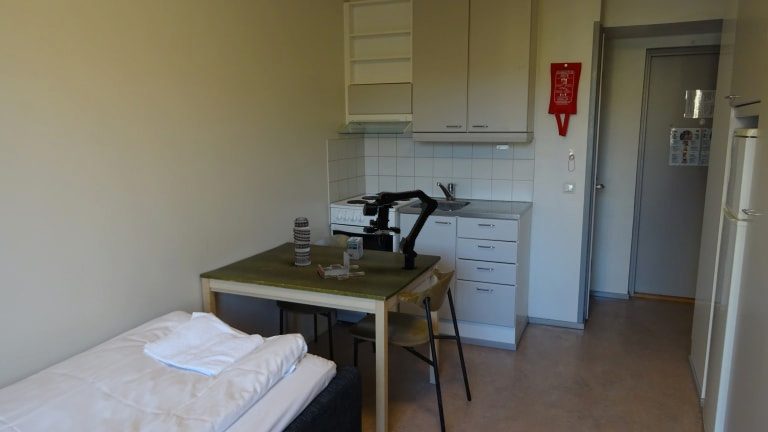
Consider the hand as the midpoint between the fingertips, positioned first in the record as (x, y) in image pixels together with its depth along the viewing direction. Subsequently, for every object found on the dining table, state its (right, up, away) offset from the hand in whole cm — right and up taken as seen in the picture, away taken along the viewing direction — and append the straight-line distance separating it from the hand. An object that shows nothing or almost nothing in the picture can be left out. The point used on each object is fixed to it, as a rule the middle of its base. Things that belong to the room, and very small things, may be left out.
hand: (380, 246), depth 266 cm
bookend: (-23, -13, -4) cm, 27 cm away
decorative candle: (-42, -10, +15) cm, 46 cm away
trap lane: (-20, -13, -4) cm, 24 cm away
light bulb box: (-15, -8, +28) cm, 33 cm away
